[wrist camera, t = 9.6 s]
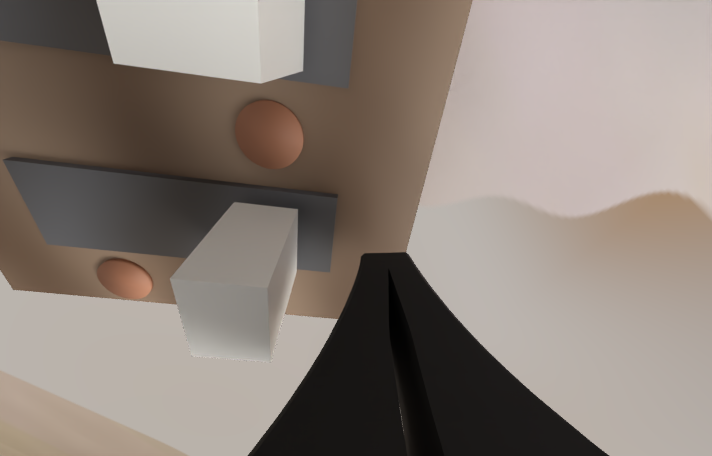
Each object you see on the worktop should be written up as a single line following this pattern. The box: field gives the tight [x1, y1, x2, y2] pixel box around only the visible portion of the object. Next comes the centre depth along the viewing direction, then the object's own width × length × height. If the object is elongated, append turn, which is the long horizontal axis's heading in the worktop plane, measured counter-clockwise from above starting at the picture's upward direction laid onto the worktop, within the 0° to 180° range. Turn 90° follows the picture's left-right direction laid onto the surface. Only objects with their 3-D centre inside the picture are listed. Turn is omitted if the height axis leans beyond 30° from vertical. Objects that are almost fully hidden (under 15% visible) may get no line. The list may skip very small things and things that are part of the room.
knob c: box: [170, 202, 298, 363], centre depth 8 cm, size 2×3×4 cm
